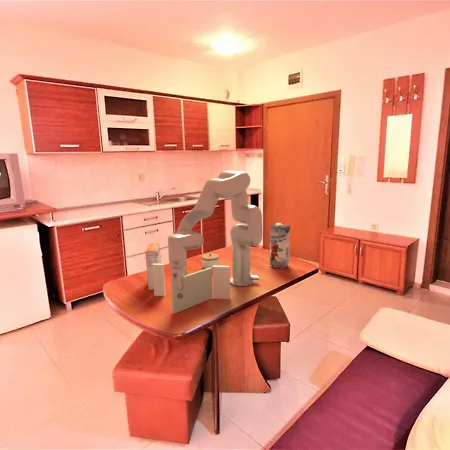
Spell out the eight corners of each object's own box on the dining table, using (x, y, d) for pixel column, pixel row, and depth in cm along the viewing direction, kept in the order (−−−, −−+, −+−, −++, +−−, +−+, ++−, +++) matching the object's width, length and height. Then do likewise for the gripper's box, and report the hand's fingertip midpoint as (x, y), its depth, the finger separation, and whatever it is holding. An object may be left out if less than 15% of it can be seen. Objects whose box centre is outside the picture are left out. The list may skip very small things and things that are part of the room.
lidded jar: (197, 269, 190) (197, 254, 188) (208, 264, 198) (208, 249, 196) (212, 272, 184) (212, 257, 182) (222, 267, 193) (222, 252, 190)
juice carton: (276, 262, 200) (277, 220, 194) (290, 266, 192) (292, 222, 186) (267, 266, 193) (268, 222, 187) (282, 270, 186) (283, 225, 180)
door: (211, 296, 152) (210, 267, 149) (214, 298, 150) (214, 268, 147) (172, 312, 137) (170, 280, 134) (176, 315, 135) (174, 282, 132)
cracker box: (151, 279, 175) (148, 243, 170) (162, 279, 175) (160, 242, 170) (147, 290, 161) (144, 251, 156) (159, 290, 161) (157, 250, 157)
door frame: (230, 297, 152) (230, 265, 149) (229, 299, 151) (229, 267, 147) (155, 294, 157) (153, 263, 153) (154, 295, 155) (152, 264, 151)
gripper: (181, 268, 131) (183, 309, 135) (190, 257, 145) (191, 294, 149) (164, 268, 132) (166, 308, 136) (174, 256, 146) (176, 293, 150)
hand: (179, 301), depth 143 cm, fingers closed
